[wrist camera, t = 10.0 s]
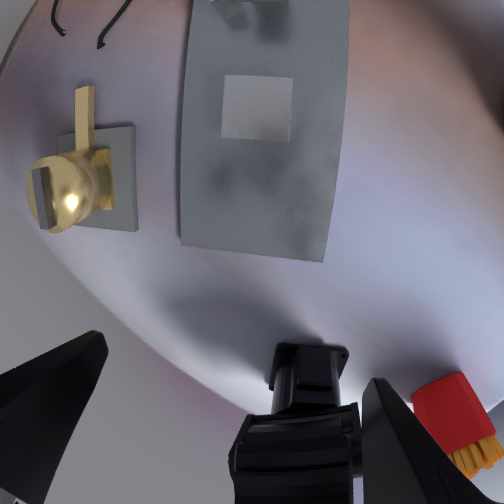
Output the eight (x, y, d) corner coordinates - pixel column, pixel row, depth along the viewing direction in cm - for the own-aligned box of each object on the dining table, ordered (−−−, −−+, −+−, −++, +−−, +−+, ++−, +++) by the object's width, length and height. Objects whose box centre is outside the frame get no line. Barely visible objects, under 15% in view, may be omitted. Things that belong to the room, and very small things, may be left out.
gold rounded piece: (119, 211, 20) (71, 239, 14) (73, 210, 20) (26, 236, 15) (114, 80, 15) (59, 74, 10) (66, 94, 16) (13, 96, 11)
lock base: (321, 257, 20) (328, 295, 15) (185, 240, 21) (157, 271, 16) (346, -3, 12) (360, -37, 7) (199, -8, 13) (173, -38, 8)
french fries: (406, 410, 26) (422, 501, 14) (403, 393, 25) (423, 494, 13) (470, 381, 23) (502, 464, 11) (473, 361, 22) (512, 451, 10)
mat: (138, 229, 21) (134, 232, 20) (68, 221, 22) (64, 224, 21) (135, 125, 17) (131, 126, 17) (61, 134, 18) (57, 135, 18)
